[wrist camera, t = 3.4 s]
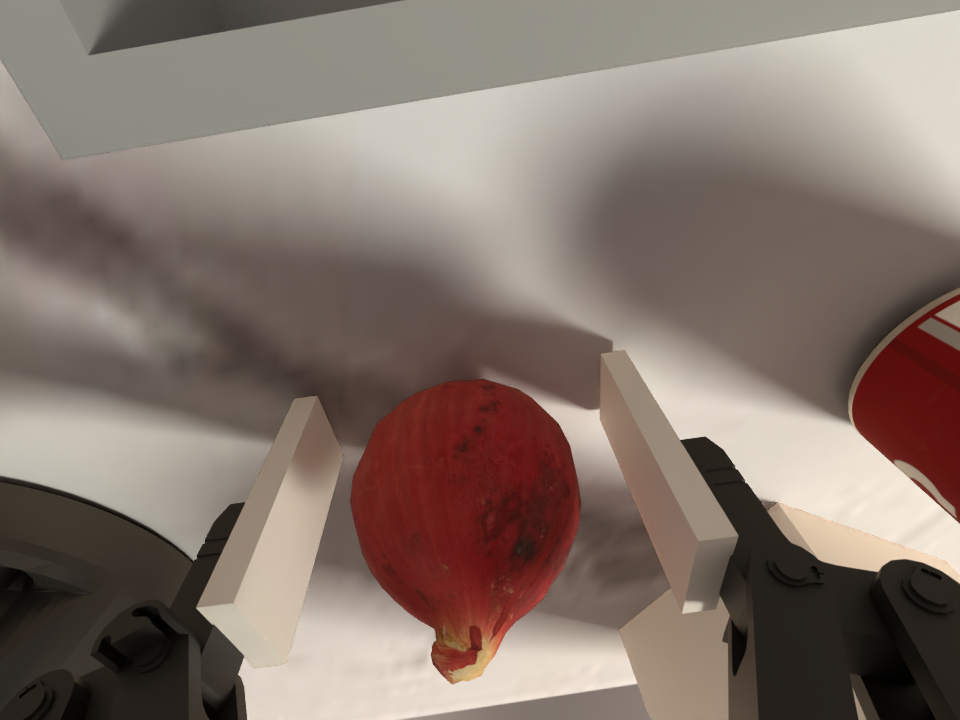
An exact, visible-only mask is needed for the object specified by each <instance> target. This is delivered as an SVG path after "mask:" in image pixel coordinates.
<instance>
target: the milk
mask: <svg viewBox="0 0 960 720" xmlns="http://www.w3.org/2000/svg"><path fill="white" fill-rule="evenodd" d="M767 512H768V513H769V515H770V516H771V518H772V519H773V520H774V522H775V523H776V525H777V526H778V527H779V529H780V530H781V532H782V533H783V534H784V535H785V537H786V538H787V539H788V540H789V541H790V542H791V543H792V544H795V545H798V546H800V547H802V548H804V549H805V550H807V551H808V552H810V553H811V554H813V555H814V556H815V557H816V558H817V559H818V560H820V561H823V562H826V563H830V564H834V565H838V566H844V567H850V568H856V569H862V570H868V571H875V572H879V570H880V569H881V567H882V566H883V565H885V564H886V563H888V562H889V561H891V560H899V559H908V560H913V561H918V562H922V563H925V564H927V565H929V566H932V567H934V568H936V569H938V570H941V571H942V572H944V573H945V574H947V575H948V576H950V577H951V578H953V579H954V580H955V581H957V582H958V583H960V575H959V574H958V573H957V572H956V571H955V570H954V569H953V567H952V566H951V565H950V564H949V563H948V562H947V561H945V560H942V559H939V558H936V557H933V556H931V555H928V554H925V553H922V552H919V551H916V550H913V549H910V548H907V547H905V546H902V545H899V544H896V543H893V542H890V541H887V540H884V539H881V538H879V537H876V536H873V535H870V534H867V533H864V532H861V531H858V530H855V529H853V528H850V527H847V526H844V525H841V524H838V523H835V522H832V521H830V520H827V519H824V518H821V517H818V516H815V515H812V514H809V513H806V512H804V511H801V510H798V509H795V508H792V507H789V506H786V505H783V504H780V503H778V502H777V503H776V504H775V505H774V506H772V507H771V508H770V509H769V510H767ZM729 617H730V614H729V612H728V610H727V608H726V606H725V604H724V603H723V601H722V599H721V597H720V598H719V601H718V605H717V608H716V609H715V610H707V611H699V612H691V613H683V614H682V613H681V610H680V608H679V606H678V603H677V601H676V598H675V596H674V594H673V591H672V589H671V588H670V589H669V590H668V591H667V592H665V593H664V594H663V595H662V596H660V597H659V598H658V599H657V600H655V601H654V602H653V603H652V604H650V605H649V606H648V607H647V608H645V609H644V610H643V611H642V612H640V613H639V614H638V615H637V616H635V617H634V618H633V619H632V620H631V621H629V622H628V623H627V624H626V625H624V626H623V627H622V628H621V629H619V632H620V635H621V638H622V640H623V643H624V646H625V649H626V652H627V655H628V658H629V660H630V663H631V666H632V669H633V672H634V675H635V678H636V680H637V683H638V686H639V689H640V692H641V695H642V698H643V700H644V703H645V706H646V709H647V712H648V714H649V717H650V720H729V712H728V643H725V642H722V639H723V635H724V631H725V628H726V625H727V622H728V619H729ZM852 688H853V687H852ZM853 694H854V699H855V704H856V709H857V714H858V719H859V720H866V717H865V715H864V713H863V710H862V708H861V706H860V704H859V701H858V699H857V697H856V694H855V692H854V690H853Z"/></svg>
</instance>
